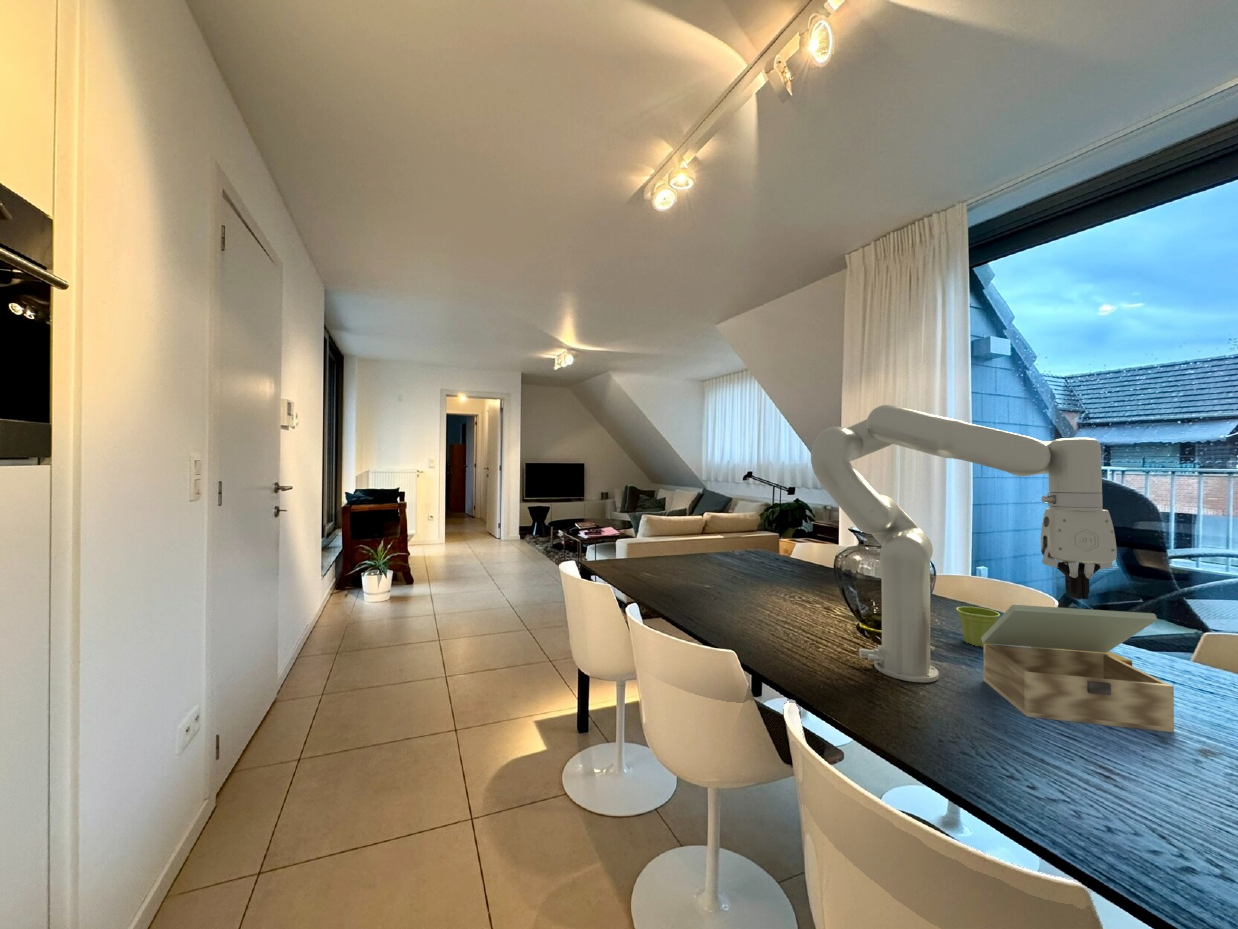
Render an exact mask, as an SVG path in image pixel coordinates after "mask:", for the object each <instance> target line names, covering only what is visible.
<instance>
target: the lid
mask: <svg viewBox="0 0 1238 929" xmlns="http://www.w3.org/2000/svg"><path fill="white" fill-rule="evenodd" d="M1156 621H1158V617H1157V616H1156V614H1155V613H1154V612H1153V613H1152V612H1138V611H1137V612H1136V611H1122V610H1121V611H1119V610H1104V609H1103V610H1102V609H1085V608H1073V607H1071V608H1070V607H1057V606H1055V607H1054V606H1040V605H1022V604H1011V606H1009V608H1008V609H1007V610H1005V612H1004V613H1003V614H1002V615H1000V616H999V617H998V620H997V621H996V622H995V623H994V625H993V626H992V627H991V628H990V629H989V630H988V631H987V632H986V633H985V634H984V635H983V636H982V637H981V640H982V643H987V644H994V645H1007V646H1019V647H1038V648H1050V649H1063V650H1076V651H1088V652H1101V653H1107V652H1111V651H1112V650H1114V649H1115V648H1116V647H1118V646H1120V645H1121V644H1122V643H1124V642H1126V641H1128V639H1130V638H1131V637H1133V636H1135V635H1136V634H1138V633H1140V632H1141V631H1143V630H1144V629H1146V628H1147V627H1149V626H1150V625H1152V624H1154V623H1155V622H1156Z"/></svg>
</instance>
